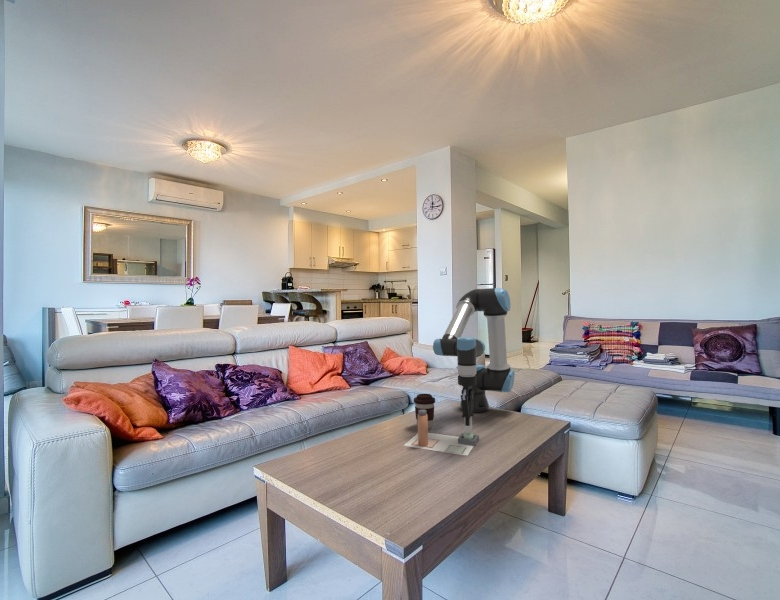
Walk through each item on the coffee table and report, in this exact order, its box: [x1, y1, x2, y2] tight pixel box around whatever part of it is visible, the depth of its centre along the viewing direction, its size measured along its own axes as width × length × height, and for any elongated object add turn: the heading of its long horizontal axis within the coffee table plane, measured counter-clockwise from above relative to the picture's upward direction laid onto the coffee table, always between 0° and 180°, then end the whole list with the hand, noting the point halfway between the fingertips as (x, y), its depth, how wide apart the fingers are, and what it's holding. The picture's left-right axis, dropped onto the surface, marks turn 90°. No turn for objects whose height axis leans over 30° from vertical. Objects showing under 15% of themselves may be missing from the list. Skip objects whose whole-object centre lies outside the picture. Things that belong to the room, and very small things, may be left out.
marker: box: [417, 410, 429, 446], centre depth 152 cm, size 4×4×14 cm
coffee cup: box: [413, 393, 436, 430], centre depth 174 cm, size 10×10×15 cm
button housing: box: [458, 432, 480, 447], centre depth 155 cm, size 7×7×2 cm
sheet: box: [403, 432, 475, 456], centre depth 154 cm, size 18×26×1 cm
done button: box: [462, 431, 474, 440], centre depth 155 cm, size 4×4×3 cm
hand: (468, 432), depth 155 cm, fingers closed
